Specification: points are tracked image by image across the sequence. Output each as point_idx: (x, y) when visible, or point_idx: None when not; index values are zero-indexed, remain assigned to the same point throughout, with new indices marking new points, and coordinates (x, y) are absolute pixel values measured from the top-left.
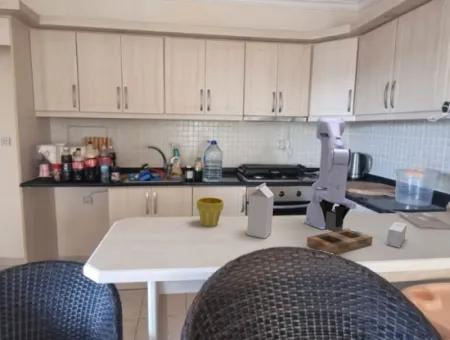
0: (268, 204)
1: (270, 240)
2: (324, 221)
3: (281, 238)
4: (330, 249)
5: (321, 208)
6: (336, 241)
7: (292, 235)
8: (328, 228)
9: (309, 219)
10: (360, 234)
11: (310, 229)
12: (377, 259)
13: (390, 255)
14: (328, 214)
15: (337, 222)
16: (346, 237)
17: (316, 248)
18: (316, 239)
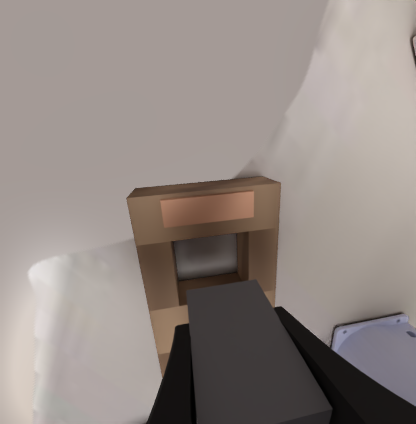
0: None
1: (384, 52)
2: (285, 310)
3: (369, 125)
4: (134, 194)
5: (411, 405)
6: None
7: (361, 196)
8: (232, 288)
9: (406, 335)
10: None
11: (357, 296)
12: (61, 330)
13: (81, 384)
14: (290, 382)
15: (169, 356)
16: None
17: (212, 182)
18: (231, 195)
